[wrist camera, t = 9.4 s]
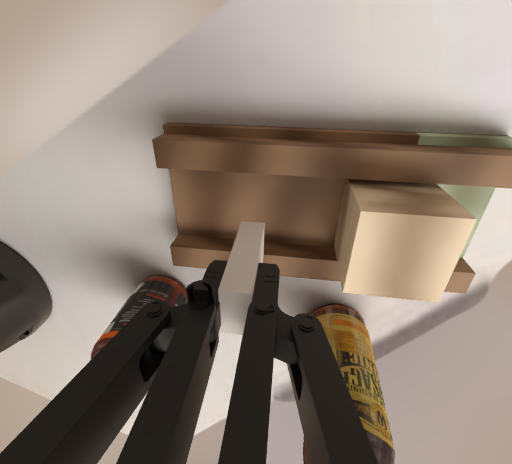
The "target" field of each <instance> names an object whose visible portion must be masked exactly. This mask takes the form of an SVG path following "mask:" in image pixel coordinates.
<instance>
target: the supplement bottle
mask: <svg viewBox="0 0 512 464" xmlns="http://www.w3.org/2000/svg"><path fill="white" fill-rule="evenodd" d="M157 300H160V301H165V302H166V303H168V305H169V306H170V307H174V306H180V305H184V304H186V303H188V299H187V292H186V290H185V289H184V287H182V285H181V284H179V283H178V282H176V281H175V280H172V279H170V278H167V277H163V276H151V277H148V278H146V279H144V280H143V281H142V282H141V283H140V284H139V285H138V286H137V288H136V289H135V290H134V292H133V293H132V295H131V296H130V297H129V299H128V300H127V301H126V303H125V304H124V306H123V307H122V308H121V310H120V311H119V312H118V314H117V315H116V317H115V318H114V319H113V321H112V322H111V323H110V325H109V326H108V328H107V329H106V330H105V332H104V333H103V335H102V336H101V337H100V339H99V340H98V341H97V343H96V344H95V346H94V348H93V350H92V353H91V360H92V359H93V358H94V357H95V356H96V355H97V354H98V352H99V351H100V350H101V349H102V348H103V347H104V346H105V345H106V344H107V343H108V342H109V341H110V340H111V339H112V338H113V337H114V336H115V335H116V334H117V333H118V332H119V331H120V330H121V329H122V328H123V327H124V326H125V325H126V324H127V323H128V322H129V321H130V320H131V319H132V317H133V316H134V315H135V314H136V313H137V312H138V311H139V310H140V309H141V308H142V307H143V306H145V305H146V304H147V303H150V302H152V301H157Z"/></svg>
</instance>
